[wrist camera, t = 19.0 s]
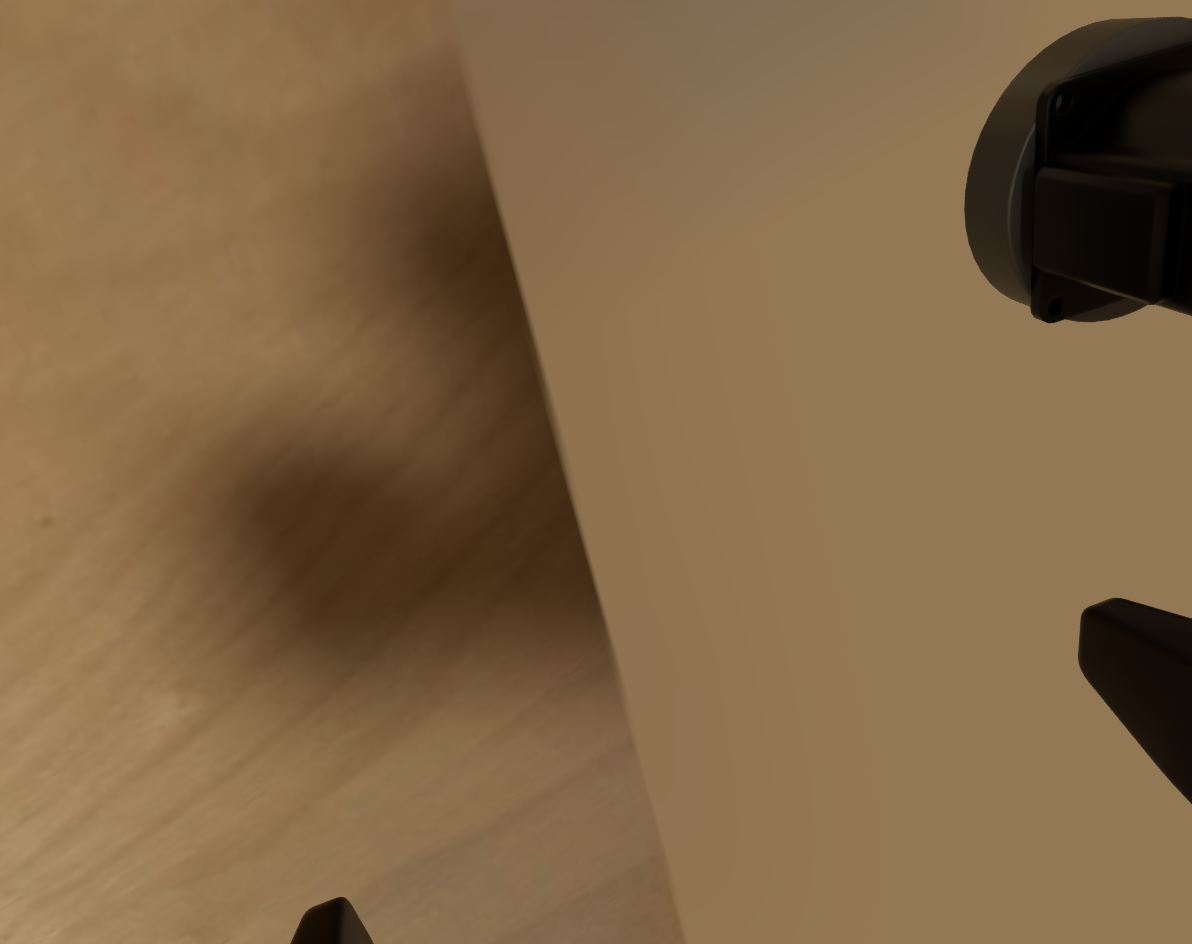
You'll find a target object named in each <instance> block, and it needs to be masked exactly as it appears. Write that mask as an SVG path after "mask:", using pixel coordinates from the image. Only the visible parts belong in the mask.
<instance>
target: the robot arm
mask: <svg viewBox="0 0 1192 944" xmlns="http://www.w3.org/2000/svg"><path fill="white" fill-rule="evenodd" d="M1060 95H1061V98H1062V101H1061V105H1060V106H1059V108H1058V109H1057V110H1056V106H1055V105H1056V101H1057V99H1058V97H1059V96H1060ZM1127 298H1129V299H1132V300H1135V301H1138V302H1141V303H1145V304H1148V305H1158V306H1161V307H1164V308H1168V309H1171V310H1174V311H1177V312H1180V313H1184V314H1187V315H1190V316H1192V41H1191V42H1187V43H1184V44H1180V45H1177V46H1174V47H1170V48H1167V49H1163V50H1160V51H1156V52H1153V53H1150V54H1146V55H1143V56H1139V57H1136V58H1132V59H1129V60H1126V61H1122V62H1119V63H1115V64H1112V65H1108V66H1105V67H1102V68H1098V69H1095V70H1091V71H1088V72H1084V73H1081V74H1078V75H1074V76H1071V77H1067V78H1064V79H1060V80H1057V81H1054V82H1052V83H1050V84H1048V85H1047V86H1046V87H1045V88H1044V89H1043V90H1042V91H1041V93H1040V95H1039V97H1038V100H1037V105H1036V129H1035V164H1034V199H1033V235H1032V270H1031V305H1030V308H1031V313H1032V315H1033V316H1034V318H1037V319H1039V320H1042V321H1044V322H1047V323H1055V322H1058V321H1061V320H1064V319H1067V318H1070V317H1073V316H1076V315H1079V314H1082V313H1085V312H1088V311H1091V310H1094V309H1097V308H1100V307H1103V306H1106V305H1109V304H1112V303H1115V302H1118V301H1121V300H1124V299H1127ZM1052 300H1053V303H1052V306H1051V307H1050V308H1049V309H1048V306H1049V303H1050V302H1051V301H1052ZM1078 661H1079V665H1080V668H1081V671H1082V673H1083V674H1084V676H1085V678H1086V679H1087V680H1088V682H1089V683H1090V684H1091V685H1092V687H1093V688H1094V689H1095V690H1096V691H1097V693H1098V694H1099V695H1100V696H1101V698H1102V699H1103V700H1104V701H1105V702H1106V704H1107V705H1108V706H1109V707H1110V709H1111V710H1112V711H1113V712H1114V714H1115V715H1116V716H1117V717H1118V718H1119V720H1120V721H1121V722H1122V723H1123V725H1124V726H1125V727H1126V728H1127V729H1128V731H1129V732H1130V733H1131V734H1132V736H1133V737H1134V738H1135V739H1136V740H1137V742H1138V743H1139V744H1140V745H1141V747H1142V748H1143V749H1144V750H1145V752H1146V753H1147V754H1148V755H1149V756H1150V758H1151V759H1152V760H1153V761H1154V763H1155V764H1156V765H1157V766H1158V767H1159V768H1160V770H1161V771H1162V772H1163V773H1164V774H1165V776H1166V777H1167V778H1168V779H1169V780H1170V781H1171V782H1172V784H1173V785H1174V786H1175V787H1176V788H1177V789H1178V790H1179V791H1180V792H1181V793H1182V794H1183V795H1184V796H1185V797H1186V798H1187V799H1188V801H1189V802H1191V804H1192V619H1191V618H1188V617H1185V616H1181V615H1177V614H1174V613H1171V612H1167V611H1164V610H1161V609H1157V608H1154V607H1150V606H1147V605H1143V604H1140V603H1136V602H1133V601H1130V600H1126V599H1122V598H1111V599H1108V600H1105V601H1103V602H1100V603H1098V604H1095V605H1092V606H1090V607H1088V608H1086V609H1085V610H1084V611H1083V613H1082V615H1081V622H1080V636H1079V650H1078ZM290 944H373V942H372V939H371V937H370V936H369V934H368V932H367V931H366V929H365V927H364V925H363V924H362V922H361V920H360V919H359V917H358V915H357V913H356V912H355V910H354V908H353V906H352V905H351V903H350V902H349V901H348V900H347V899H346V898H344V897H337V898H335V899H332V900H330V901H327V902H324V903H322V904H319V905H317V906H314V907H312V908H310V909H309V910H308V911H307V912H306V913H305V914H304V915H303V917H302V919H301V921H300V924H299V926H298V928H297V930H296V932H295V935H294V937H293V939H292V941H291V943H290Z"/></svg>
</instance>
